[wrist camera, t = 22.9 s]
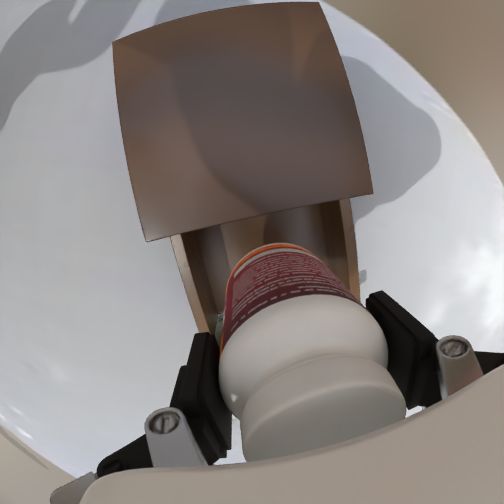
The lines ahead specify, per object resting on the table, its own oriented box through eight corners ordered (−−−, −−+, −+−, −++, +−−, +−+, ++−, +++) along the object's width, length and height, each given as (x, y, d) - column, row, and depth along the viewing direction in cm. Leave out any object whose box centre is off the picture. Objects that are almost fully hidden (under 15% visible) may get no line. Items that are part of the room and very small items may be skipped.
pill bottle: (204, 278, 16) (158, 429, 5) (294, 219, 15) (401, 298, 5) (262, 350, 17) (284, 502, 7) (343, 300, 17) (439, 424, 6)
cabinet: (333, 189, 24) (373, 193, 16) (174, 223, 24) (145, 242, 16) (297, 46, 20) (318, 1, 12) (145, 77, 20) (111, 41, 12)
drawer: (347, 343, 27) (369, 378, 21) (223, 370, 27) (221, 413, 21) (324, 162, 22) (353, 157, 16) (172, 195, 22) (148, 199, 16)
